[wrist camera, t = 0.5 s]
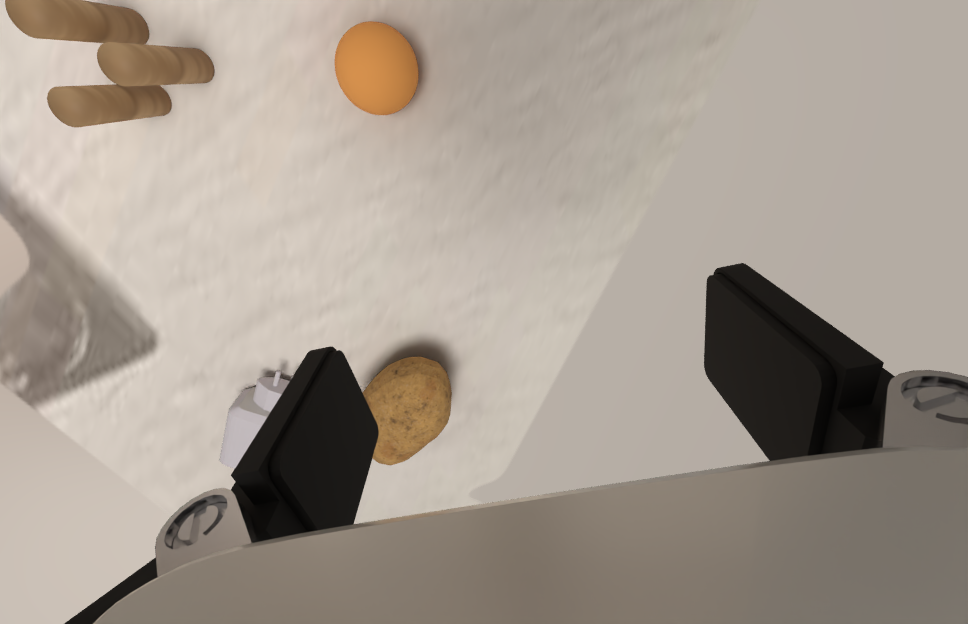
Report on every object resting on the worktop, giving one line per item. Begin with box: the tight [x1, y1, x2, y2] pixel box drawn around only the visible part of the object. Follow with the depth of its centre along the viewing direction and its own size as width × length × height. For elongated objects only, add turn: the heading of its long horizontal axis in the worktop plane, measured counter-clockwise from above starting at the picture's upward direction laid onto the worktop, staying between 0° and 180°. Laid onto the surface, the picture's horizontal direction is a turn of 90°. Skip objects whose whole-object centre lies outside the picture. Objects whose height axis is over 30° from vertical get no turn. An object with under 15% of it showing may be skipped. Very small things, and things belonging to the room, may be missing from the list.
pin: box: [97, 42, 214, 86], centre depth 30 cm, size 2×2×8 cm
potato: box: [363, 357, 452, 465], centre depth 46 cm, size 10×14×8 cm
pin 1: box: [5, 0, 149, 44], centre depth 29 cm, size 2×2×8 cm
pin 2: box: [47, 84, 171, 127], centre depth 31 cm, size 2×2×8 cm
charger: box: [219, 370, 293, 469], centre depth 50 cm, size 5×9×15 cm
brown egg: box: [335, 22, 418, 115], centre depth 31 cm, size 6×6×6 cm
